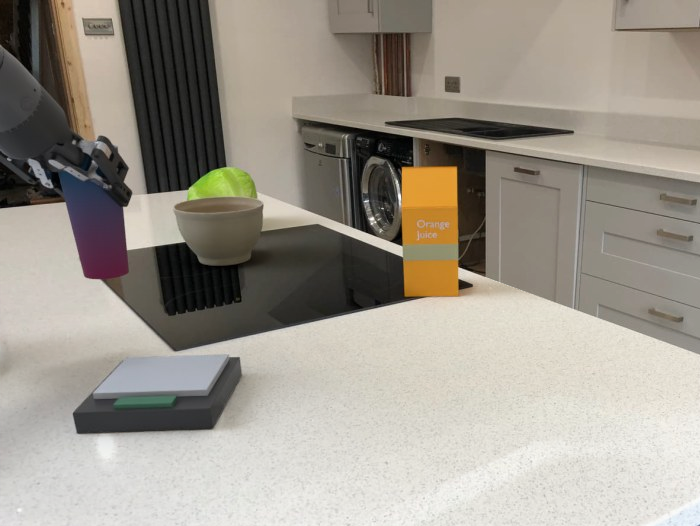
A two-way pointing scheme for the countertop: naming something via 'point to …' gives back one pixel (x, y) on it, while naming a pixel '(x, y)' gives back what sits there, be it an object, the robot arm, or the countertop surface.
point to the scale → (160, 394)
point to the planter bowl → (220, 228)
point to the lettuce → (223, 184)
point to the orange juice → (430, 231)
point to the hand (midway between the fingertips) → (102, 199)
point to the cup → (96, 226)
